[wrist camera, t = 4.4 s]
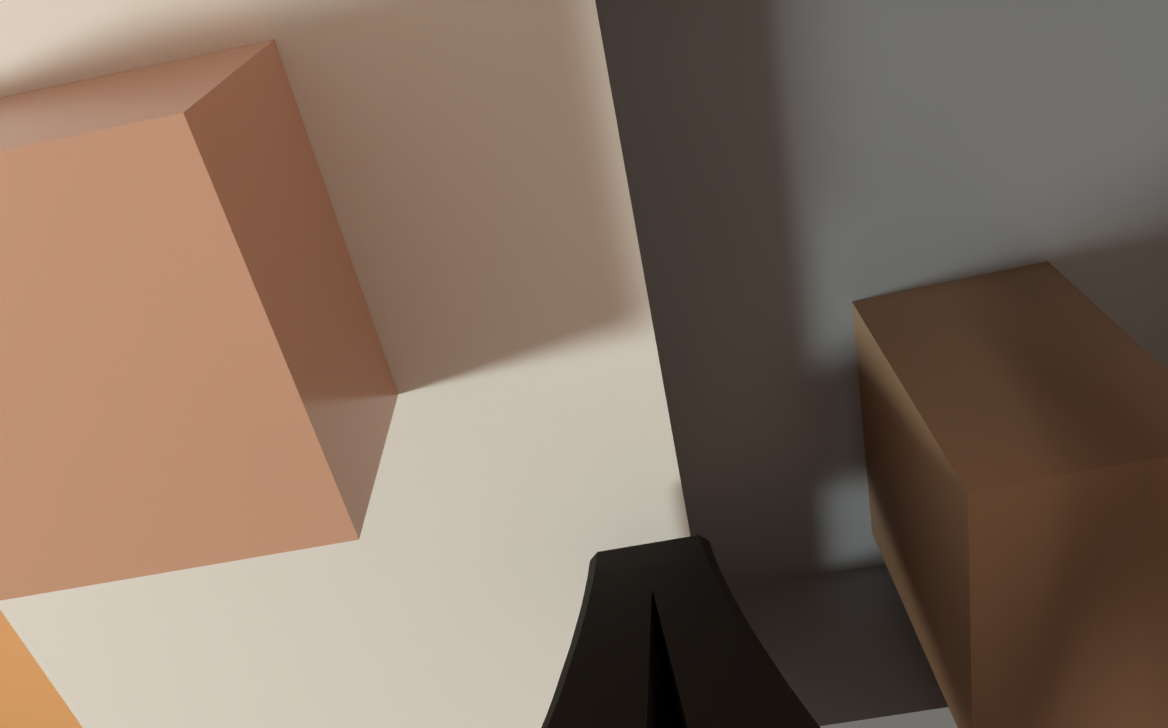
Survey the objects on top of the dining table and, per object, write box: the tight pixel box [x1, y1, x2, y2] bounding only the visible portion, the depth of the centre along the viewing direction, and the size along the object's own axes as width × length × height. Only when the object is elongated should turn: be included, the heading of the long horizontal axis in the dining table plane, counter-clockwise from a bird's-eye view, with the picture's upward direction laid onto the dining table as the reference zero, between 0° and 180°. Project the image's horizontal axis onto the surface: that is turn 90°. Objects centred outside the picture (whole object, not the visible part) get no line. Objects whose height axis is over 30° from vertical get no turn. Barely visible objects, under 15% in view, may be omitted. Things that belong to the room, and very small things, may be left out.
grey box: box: [595, 0, 1168, 728], centre depth 11 cm, size 11×9×3 cm
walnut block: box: [852, 261, 1168, 728], centre depth 11 cm, size 4×4×2 cm
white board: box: [0, 0, 690, 728], centre depth 12 cm, size 11×9×2 cm
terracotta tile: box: [0, 39, 398, 601], centre depth 9 cm, size 4×4×2 cm
